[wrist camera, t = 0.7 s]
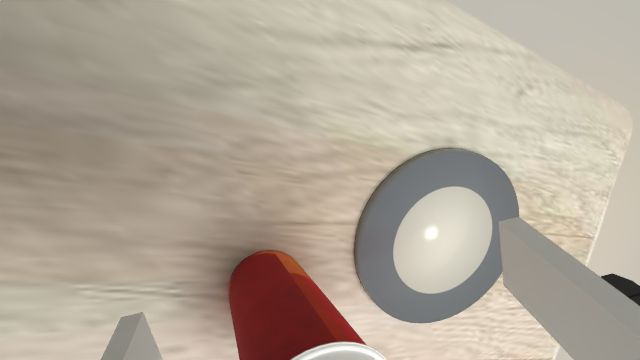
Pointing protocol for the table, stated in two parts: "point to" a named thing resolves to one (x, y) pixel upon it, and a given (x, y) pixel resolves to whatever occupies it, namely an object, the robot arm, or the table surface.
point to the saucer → (434, 235)
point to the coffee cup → (288, 314)
